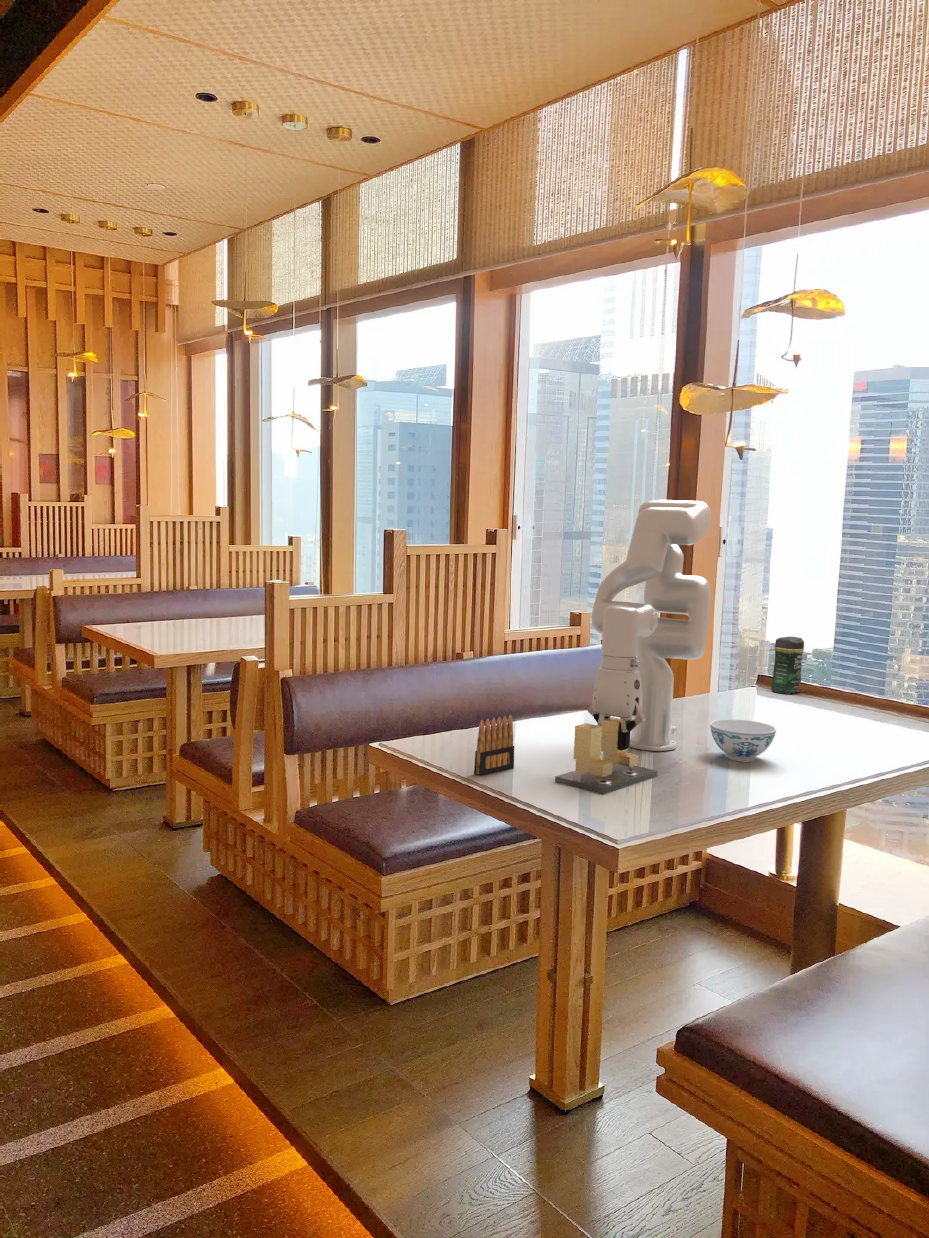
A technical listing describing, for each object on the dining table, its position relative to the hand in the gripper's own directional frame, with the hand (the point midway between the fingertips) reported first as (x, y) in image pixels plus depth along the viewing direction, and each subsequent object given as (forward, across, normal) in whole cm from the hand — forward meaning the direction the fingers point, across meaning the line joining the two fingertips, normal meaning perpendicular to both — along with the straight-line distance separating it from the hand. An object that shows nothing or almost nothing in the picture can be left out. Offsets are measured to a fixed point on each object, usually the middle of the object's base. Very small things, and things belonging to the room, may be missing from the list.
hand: (614, 746), depth 212 cm
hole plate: (+6, -1, +4) cm, 7 cm away
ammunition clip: (+7, +19, +17) cm, 26 cm away
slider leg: (+4, -2, 0) cm, 5 cm away
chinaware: (+6, -12, -37) cm, 39 cm away
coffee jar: (+6, +19, -135) cm, 136 cm away
